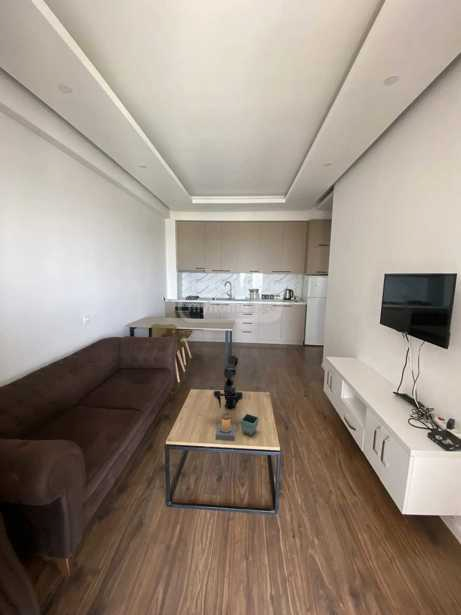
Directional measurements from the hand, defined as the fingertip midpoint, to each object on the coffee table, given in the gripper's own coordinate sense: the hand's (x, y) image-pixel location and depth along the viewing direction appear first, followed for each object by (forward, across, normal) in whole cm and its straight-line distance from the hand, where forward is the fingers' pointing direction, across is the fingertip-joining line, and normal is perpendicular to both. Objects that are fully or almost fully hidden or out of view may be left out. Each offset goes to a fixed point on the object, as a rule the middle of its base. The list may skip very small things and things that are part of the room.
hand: (227, 408), depth 161 cm
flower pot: (+12, +15, +7) cm, 20 cm away
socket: (+14, 0, +4) cm, 15 cm away
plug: (+14, 0, +4) cm, 15 cm away
